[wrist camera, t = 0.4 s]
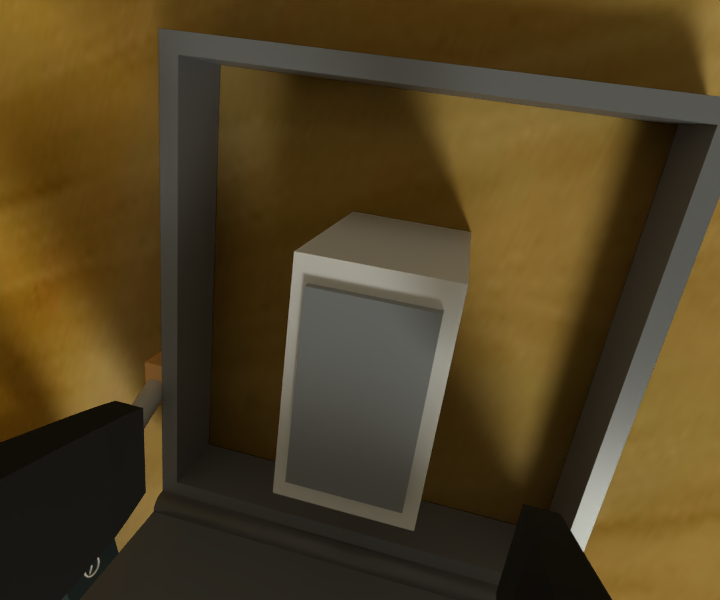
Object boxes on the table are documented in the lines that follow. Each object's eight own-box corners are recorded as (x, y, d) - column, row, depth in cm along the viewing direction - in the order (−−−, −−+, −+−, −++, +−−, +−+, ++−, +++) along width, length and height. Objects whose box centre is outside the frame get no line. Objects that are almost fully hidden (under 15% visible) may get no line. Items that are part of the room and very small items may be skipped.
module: (471, 231, 16) (467, 287, 11) (432, 412, 19) (413, 538, 13) (353, 211, 17) (290, 253, 11) (330, 389, 20) (269, 498, 14)
